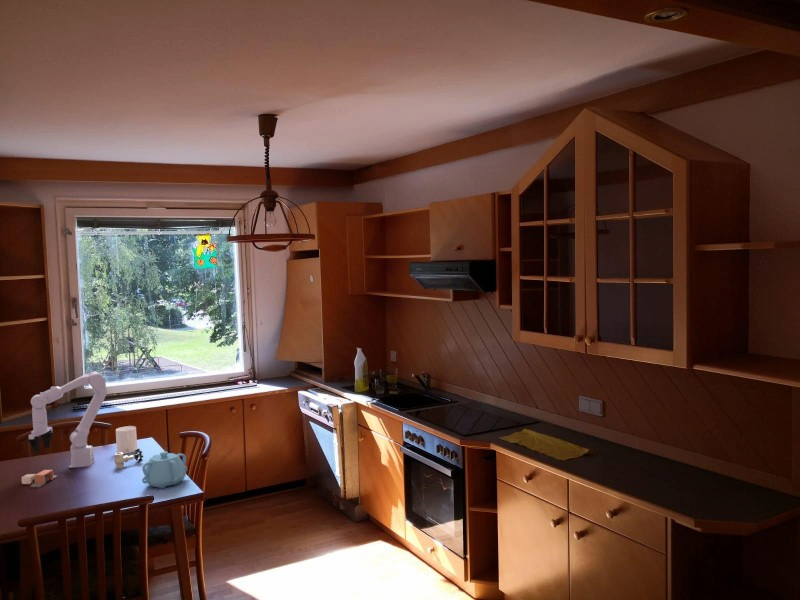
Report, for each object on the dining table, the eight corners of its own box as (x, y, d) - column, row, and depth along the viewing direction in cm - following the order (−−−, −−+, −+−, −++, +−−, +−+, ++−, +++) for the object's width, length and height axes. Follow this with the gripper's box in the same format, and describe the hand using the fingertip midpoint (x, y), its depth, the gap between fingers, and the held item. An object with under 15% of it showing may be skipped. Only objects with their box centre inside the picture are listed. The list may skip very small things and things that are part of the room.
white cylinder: (133, 447, 338) (131, 425, 338) (142, 452, 330) (140, 429, 329) (114, 452, 332) (112, 429, 331) (123, 456, 323) (121, 433, 322)
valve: (119, 470, 302) (143, 463, 311) (118, 455, 302) (142, 449, 311) (112, 467, 306) (136, 460, 316) (111, 453, 306) (135, 447, 315)
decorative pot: (176, 490, 272) (174, 458, 271) (138, 490, 273) (136, 458, 272) (191, 477, 288) (190, 446, 287) (156, 477, 289) (154, 446, 288)
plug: (49, 480, 291) (49, 473, 290) (43, 483, 287) (43, 476, 286) (27, 480, 291) (27, 474, 291) (22, 483, 288) (21, 477, 287)
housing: (57, 477, 295) (56, 467, 295) (39, 487, 282) (39, 477, 282) (48, 477, 295) (48, 467, 295) (30, 487, 283) (30, 477, 282)
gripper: (41, 417, 310) (43, 446, 310) (21, 425, 295) (23, 455, 296) (55, 417, 309) (57, 445, 310) (36, 425, 295) (38, 455, 295)
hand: (42, 450), depth 303 cm, fingers open, 7 cm apart
